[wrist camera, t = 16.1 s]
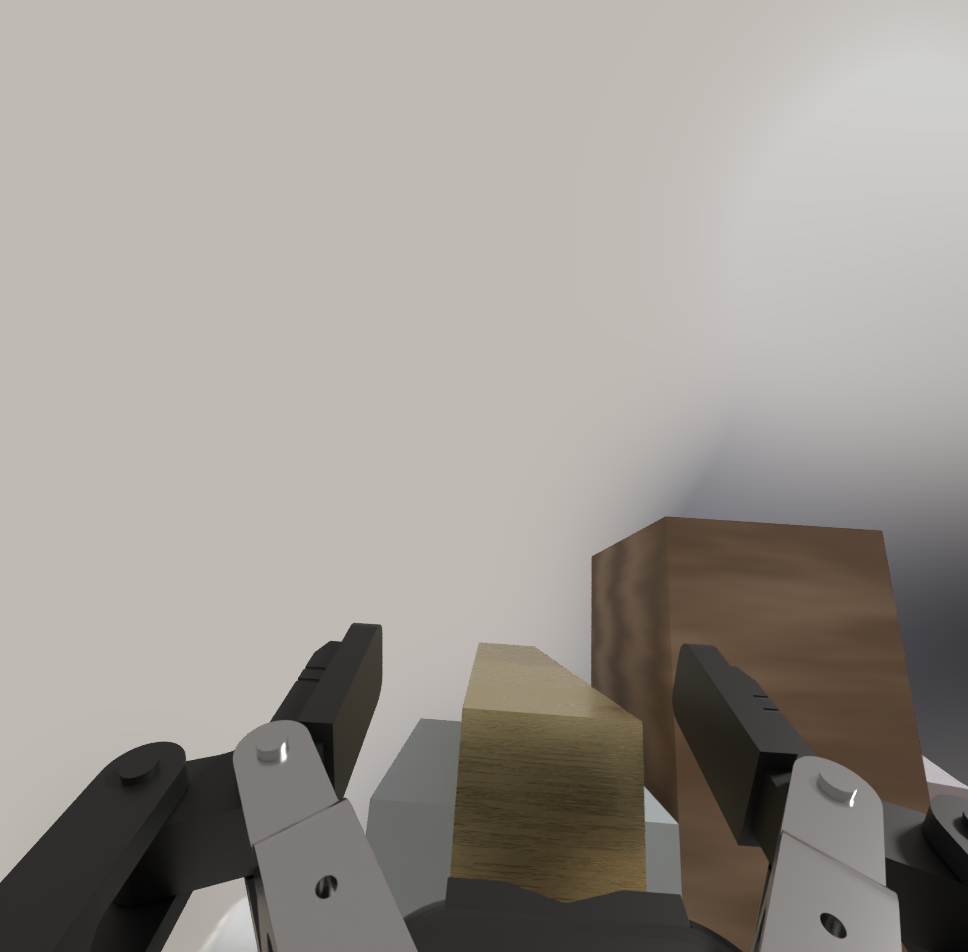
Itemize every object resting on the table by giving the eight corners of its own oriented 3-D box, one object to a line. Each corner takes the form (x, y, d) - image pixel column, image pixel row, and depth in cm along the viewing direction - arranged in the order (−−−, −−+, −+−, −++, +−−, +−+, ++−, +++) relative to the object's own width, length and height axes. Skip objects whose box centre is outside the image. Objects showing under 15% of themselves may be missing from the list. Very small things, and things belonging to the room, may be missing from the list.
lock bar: (474, 703, 32) (479, 642, 33) (532, 707, 32) (534, 646, 33) (446, 928, 9) (462, 707, 10) (647, 946, 9) (642, 721, 10)
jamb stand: (590, 1087, 28) (591, 556, 37) (757, 1104, 28) (717, 565, 37) (716, 1663, 13) (665, 516, 22) (1092, 1712, 12) (882, 530, 21)
